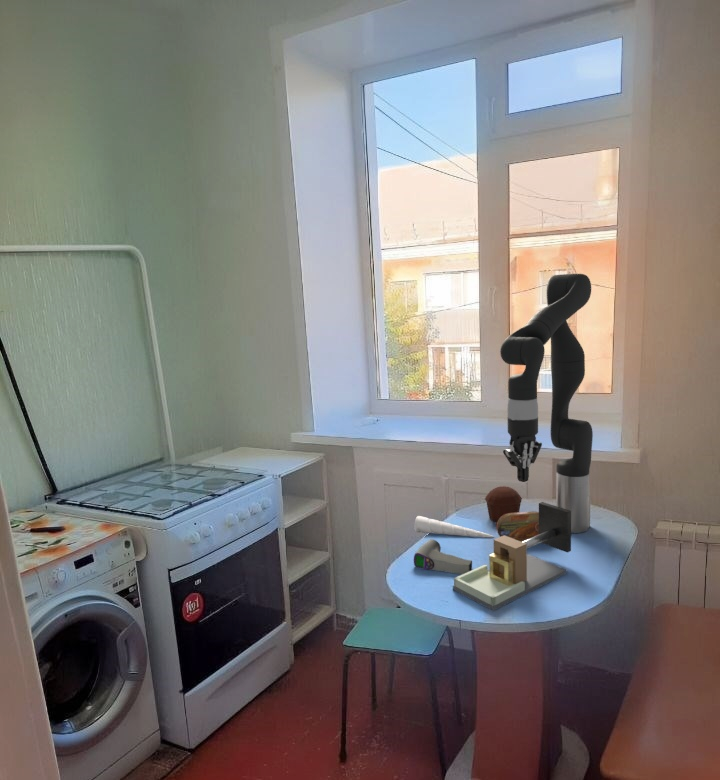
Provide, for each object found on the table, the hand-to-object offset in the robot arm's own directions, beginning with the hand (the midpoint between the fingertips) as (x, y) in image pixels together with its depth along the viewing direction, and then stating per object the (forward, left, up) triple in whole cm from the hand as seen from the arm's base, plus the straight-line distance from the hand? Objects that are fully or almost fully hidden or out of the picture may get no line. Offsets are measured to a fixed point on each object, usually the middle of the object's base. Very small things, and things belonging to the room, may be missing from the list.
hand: (523, 480), depth 156 cm
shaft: (+1, +4, -19) cm, 19 cm away
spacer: (+13, +4, -22) cm, 26 cm away
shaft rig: (+10, +4, -23) cm, 25 cm away
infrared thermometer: (+14, -14, -24) cm, 31 cm away
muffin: (-21, -25, -23) cm, 40 cm away
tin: (-12, -10, -23) cm, 28 cm away
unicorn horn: (-1, -28, -24) cm, 36 cm away
